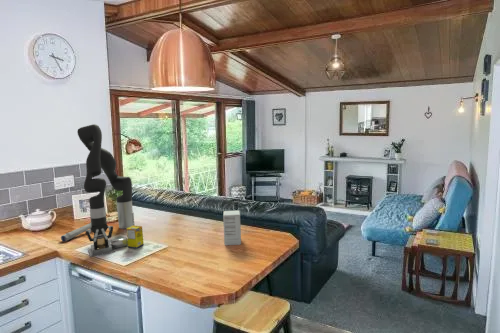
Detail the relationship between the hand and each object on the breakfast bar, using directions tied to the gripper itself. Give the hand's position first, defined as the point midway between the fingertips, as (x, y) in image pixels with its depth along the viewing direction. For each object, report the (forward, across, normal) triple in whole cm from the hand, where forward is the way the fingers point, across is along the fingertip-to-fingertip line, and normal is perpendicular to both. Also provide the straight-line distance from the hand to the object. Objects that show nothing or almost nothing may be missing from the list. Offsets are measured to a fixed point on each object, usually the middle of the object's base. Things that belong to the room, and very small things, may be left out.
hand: (101, 246), depth 179 cm
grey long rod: (+3, +7, -36) cm, 37 cm away
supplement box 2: (+2, -64, +29) cm, 70 cm away
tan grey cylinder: (+1, 0, 0) cm, 1 cm away
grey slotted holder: (+2, -4, 0) cm, 4 cm away
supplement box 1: (+2, -17, +4) cm, 18 cm away
